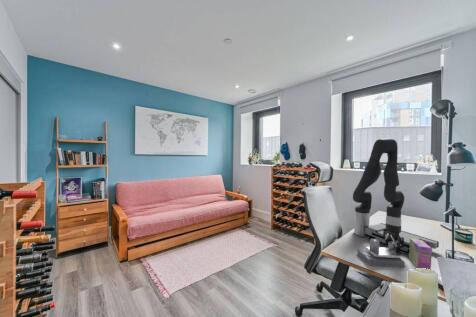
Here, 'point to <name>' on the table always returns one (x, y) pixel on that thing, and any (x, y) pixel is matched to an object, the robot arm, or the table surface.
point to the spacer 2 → (391, 245)
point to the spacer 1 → (374, 245)
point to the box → (420, 253)
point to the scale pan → (384, 253)
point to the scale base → (379, 259)
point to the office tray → (377, 234)
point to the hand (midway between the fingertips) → (392, 249)
